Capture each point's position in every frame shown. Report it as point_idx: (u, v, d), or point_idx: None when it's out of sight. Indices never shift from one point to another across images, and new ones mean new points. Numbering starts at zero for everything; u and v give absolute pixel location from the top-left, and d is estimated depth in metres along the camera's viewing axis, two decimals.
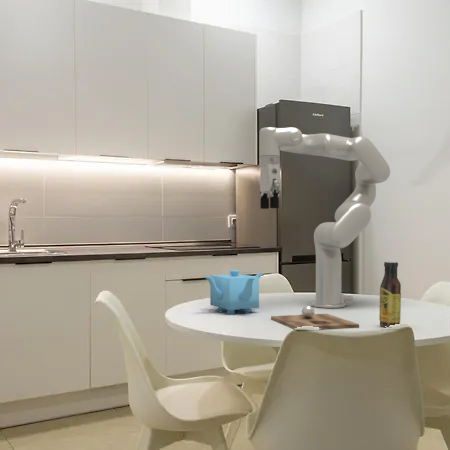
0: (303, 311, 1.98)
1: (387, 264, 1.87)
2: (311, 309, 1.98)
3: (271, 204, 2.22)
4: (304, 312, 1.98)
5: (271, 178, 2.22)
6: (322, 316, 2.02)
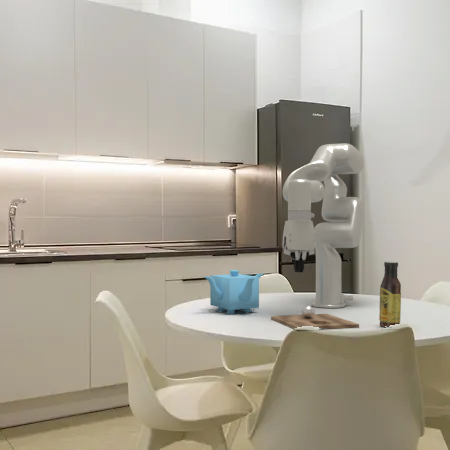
0: (303, 311, 1.98)
1: (387, 264, 1.87)
2: (311, 309, 1.98)
3: None
4: (304, 312, 1.98)
5: None
6: (322, 316, 2.02)
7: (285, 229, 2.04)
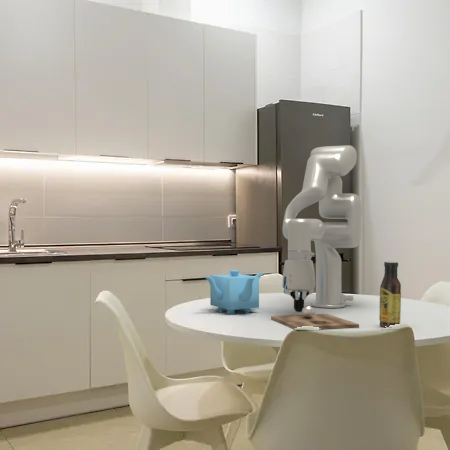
0: (303, 311, 1.98)
1: (387, 264, 1.87)
2: (311, 309, 1.98)
3: None
4: (304, 312, 1.98)
5: None
6: (322, 316, 2.02)
7: (285, 269, 2.04)
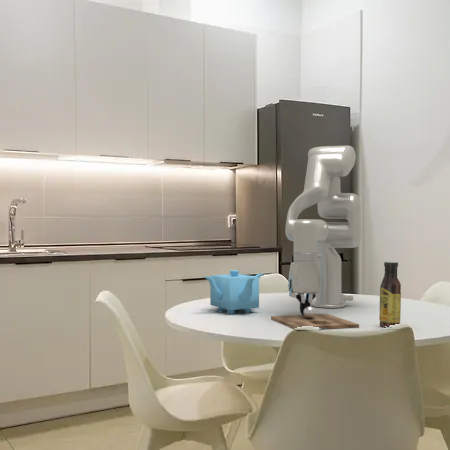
0: (305, 313, 1.97)
1: (387, 264, 1.87)
2: (313, 313, 1.96)
3: None
4: (305, 314, 1.97)
5: None
6: (322, 316, 2.02)
7: (291, 271, 2.00)
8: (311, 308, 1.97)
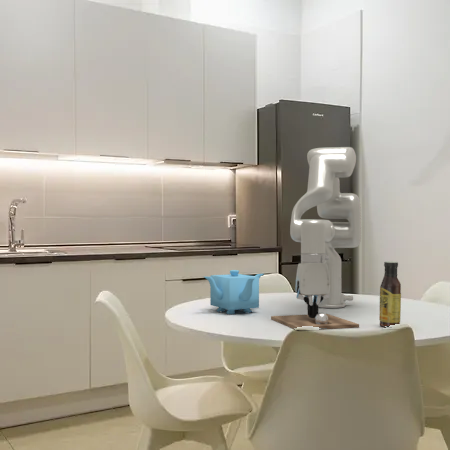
0: (315, 318, 1.89)
1: (387, 264, 1.87)
2: None
3: None
4: (316, 316, 1.89)
5: None
6: None
7: (298, 273, 1.94)
8: None
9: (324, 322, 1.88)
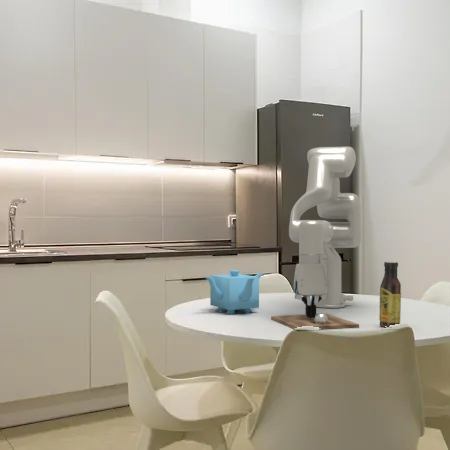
0: None
1: (387, 264, 1.87)
2: None
3: None
4: (315, 317, 1.90)
5: None
6: None
7: (296, 273, 1.96)
8: None
9: (323, 322, 1.88)
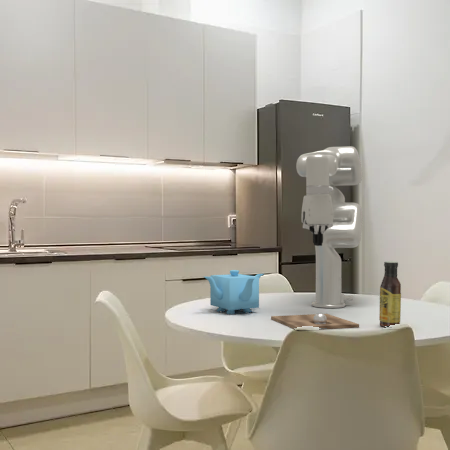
0: None
1: (387, 264, 1.87)
2: None
3: None
4: None
5: None
6: None
7: (304, 204, 2.09)
8: None
9: (322, 319, 1.88)
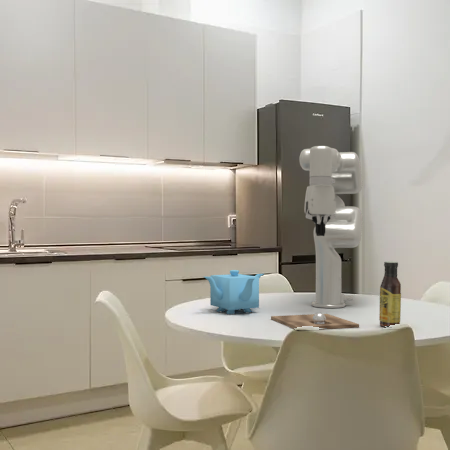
0: (313, 319, 1.91)
1: (387, 264, 1.87)
2: None
3: None
4: (313, 317, 1.91)
5: None
6: None
7: (307, 194, 2.12)
8: None
9: (321, 317, 1.89)
